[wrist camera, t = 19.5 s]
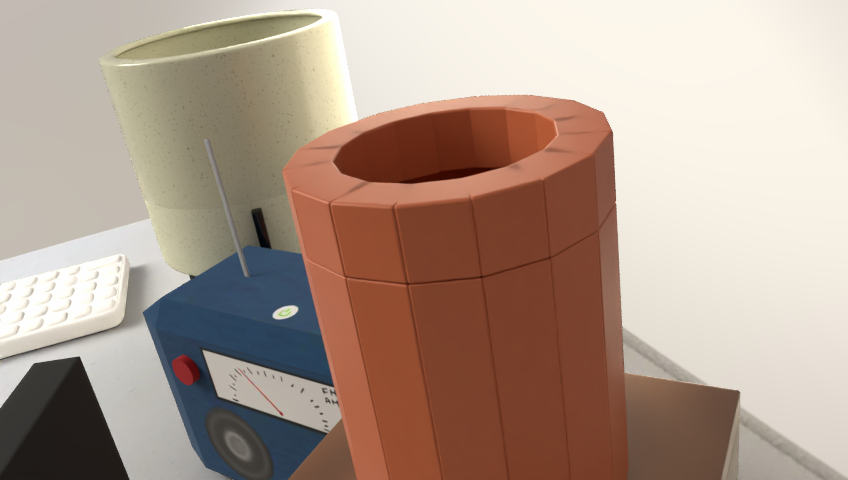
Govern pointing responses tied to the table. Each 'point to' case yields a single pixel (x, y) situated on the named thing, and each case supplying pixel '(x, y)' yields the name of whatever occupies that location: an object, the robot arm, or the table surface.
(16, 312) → the calculator
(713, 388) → the shelf
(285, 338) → the radio
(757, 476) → the table surface
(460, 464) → the canister
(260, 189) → the planter
